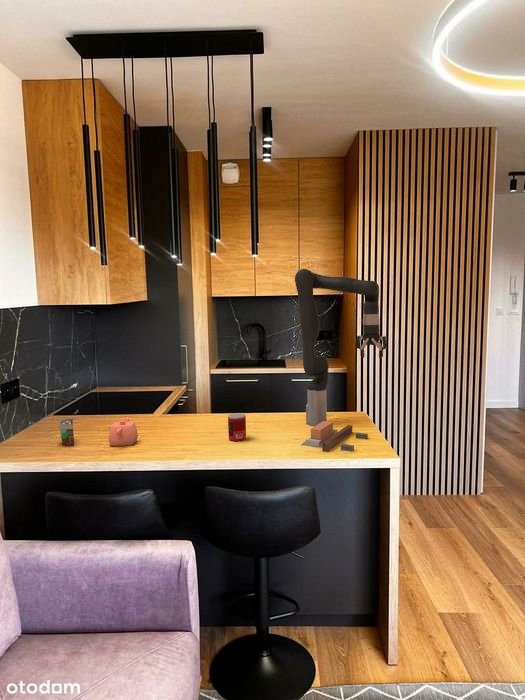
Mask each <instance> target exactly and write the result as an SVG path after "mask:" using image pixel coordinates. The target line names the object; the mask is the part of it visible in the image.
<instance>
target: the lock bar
mask: <svg viewBox="0 0 525 700" xmlns="http://www.w3.org/2000/svg"><path fill="white" fill-rule="evenodd" d="M333 428H334V422H333V421H328V420H327V421H323V422H321V423H319V424H318V425H316V426H313V427H311V428H310V438H311V439H314V440H321V443H322V442H324V441H325V440H327V439H328V438H329V437H331V436H332V435H333Z"/></svg>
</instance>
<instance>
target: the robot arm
mask: <svg viewBox="0 0 525 700" xmlns="http://www.w3.org/2000/svg"><path fill="white" fill-rule="evenodd" d="M294 283H295V288H296V293H297V297H298V311H299V313H298V314H299V323H300V331H301V339H302V340H301V341H302V366H303V371H304V373H305V375H306V376H308V377H313V378H312V380H310V381H309V382H307V384H306V385H307V387H306V390H307V393H306V394H307V395H306V396H307V398H306V399H307V404H306V405H305V424H306V425H309V426H313V427H315V426H316V425H318V424H319V423H321V422H323V421H328V419H327V414H328V413H327V409H328V408H327V405H328V404H327V403H328V402H327V386H328V382H329V362H328V360H327V358H326V357H325V356H324V355H316V356H315V345H316V342H317V339H318V337H319V333H320V330H321V323H320V322H321V321H320V316H319V312H318V307H317V304H316V301H315V297H314V289H321V290H323V289H324V290H330V291H335V292H339V293H345V294H346V293H347V294H357V295H362V296H363V297H364V302H363V318H362V327H363V328H362V329H363V330H362V332H363V335H357V336H356V343H355V344H356V345H355V347H356V349H359V351H360V354H359V355H360V357H361V358H362V359H363V358H365V348H366V346H376V347H377V349H378V359H382V358H383V357H384V350H386V349H388V339H387V336H386V335H384V336H382V335H380V331H381V330H380V328H381V326H380V324H381V323H380V311H379V310H380V307H379V306H380V305H379V300H380V299H379V297H380V286H379V284H378V282H376V281H374V280H366V279H357V278H355V277H354V278H353V277H348V276H347V277H345V276H328V275H322V274H318V273H316V272H313V271H312V270H309V269H308V268H301V269H299V270H298V271H296V273H295V276H294ZM362 340H363V343H362V345H361V342H362ZM380 341H382V343H381V342H380Z"/></svg>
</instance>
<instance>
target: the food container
mask: <svg viewBox="0 0 525 700" xmlns="http://www.w3.org/2000/svg"><path fill="white" fill-rule="evenodd" d="M57 428H58V429H59V430H60V431H59V432H60V438H61V444H62V446H65V447H74V446H75V436H74V435H75V434H74V433H75V432H74V421H73V417H70V418H65V419H64V418H63V419H62V420H60V421H59V422H58V425H57Z"/></svg>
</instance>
